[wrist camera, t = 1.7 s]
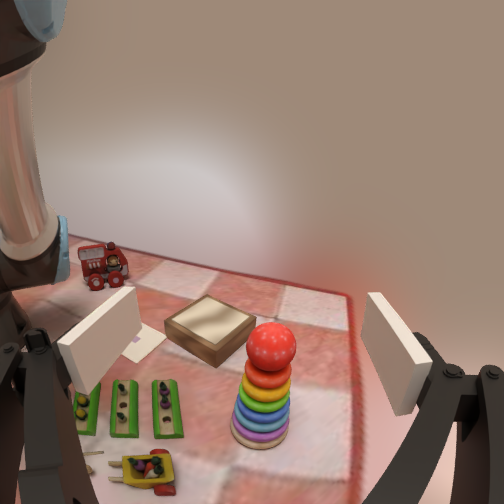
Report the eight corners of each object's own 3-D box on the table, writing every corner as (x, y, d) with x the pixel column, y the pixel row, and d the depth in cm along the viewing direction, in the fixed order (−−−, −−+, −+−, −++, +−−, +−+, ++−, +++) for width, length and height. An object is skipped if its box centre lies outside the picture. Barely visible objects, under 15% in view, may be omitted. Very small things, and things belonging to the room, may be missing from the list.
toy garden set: (177, 385, 40) (174, 366, 39) (194, 495, 24) (191, 485, 22) (48, 381, 34) (38, 363, 32) (28, 479, 17) (11, 464, 16)
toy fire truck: (131, 285, 65) (127, 245, 61) (84, 293, 59) (76, 253, 54) (127, 272, 70) (123, 235, 66) (83, 279, 64) (77, 242, 60)
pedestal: (165, 337, 50) (163, 319, 48) (206, 310, 59) (206, 293, 58) (216, 368, 44) (216, 350, 43) (254, 333, 54) (256, 316, 52)
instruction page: (93, 335, 47) (93, 334, 46) (124, 314, 54) (124, 313, 54) (136, 364, 42) (136, 363, 42) (168, 337, 50) (168, 335, 50)
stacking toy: (276, 402, 39) (301, 302, 31) (294, 444, 32) (333, 350, 24) (225, 410, 37) (230, 308, 29) (237, 455, 30) (249, 363, 22)
